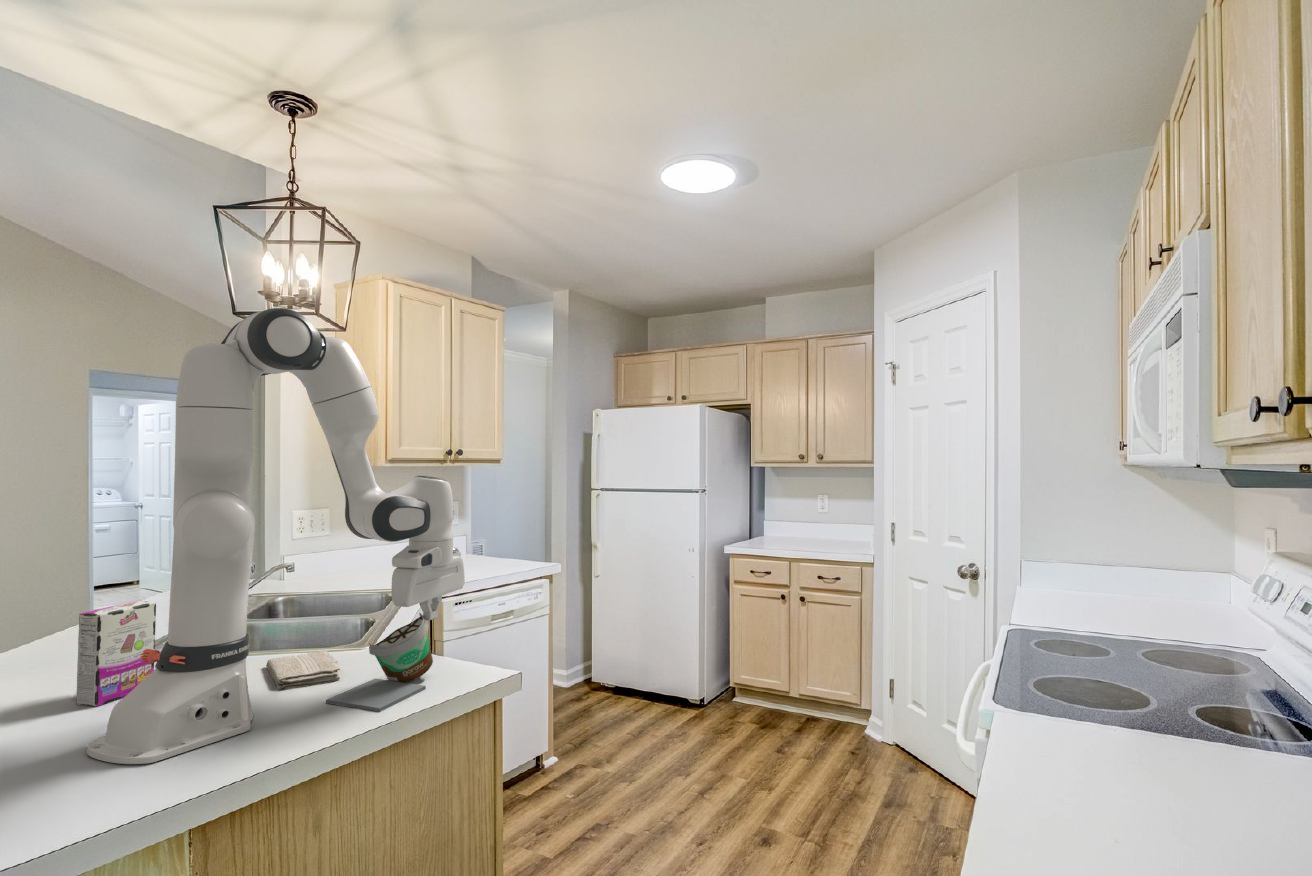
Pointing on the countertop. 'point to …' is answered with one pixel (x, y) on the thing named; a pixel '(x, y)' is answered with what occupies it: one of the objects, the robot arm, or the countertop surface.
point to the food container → (405, 652)
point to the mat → (376, 694)
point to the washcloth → (303, 669)
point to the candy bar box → (114, 651)
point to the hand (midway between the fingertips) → (430, 619)
